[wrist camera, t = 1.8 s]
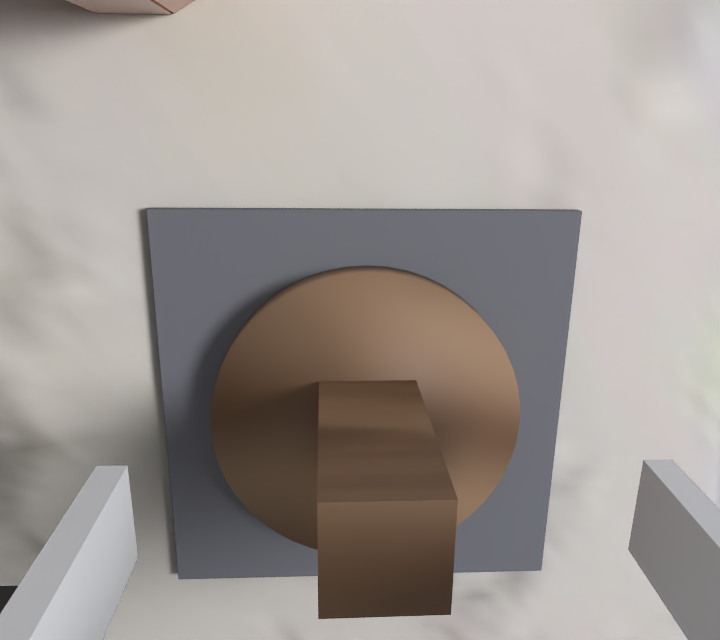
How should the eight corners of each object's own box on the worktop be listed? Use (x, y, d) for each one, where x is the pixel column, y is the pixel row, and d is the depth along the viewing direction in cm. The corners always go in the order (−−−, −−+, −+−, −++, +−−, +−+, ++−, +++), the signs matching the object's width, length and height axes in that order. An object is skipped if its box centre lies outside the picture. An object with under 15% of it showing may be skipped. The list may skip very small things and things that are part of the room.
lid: (499, 531, 25) (579, 722, 17) (224, 538, 24) (177, 738, 17) (522, 265, 22) (633, 349, 14) (207, 265, 21) (139, 354, 13)
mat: (538, 563, 26) (541, 570, 26) (180, 572, 25) (178, 579, 25) (577, 209, 22) (581, 211, 21) (150, 207, 21) (146, 209, 21)
